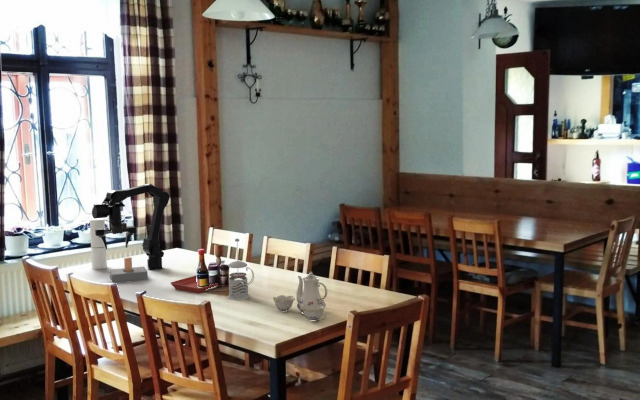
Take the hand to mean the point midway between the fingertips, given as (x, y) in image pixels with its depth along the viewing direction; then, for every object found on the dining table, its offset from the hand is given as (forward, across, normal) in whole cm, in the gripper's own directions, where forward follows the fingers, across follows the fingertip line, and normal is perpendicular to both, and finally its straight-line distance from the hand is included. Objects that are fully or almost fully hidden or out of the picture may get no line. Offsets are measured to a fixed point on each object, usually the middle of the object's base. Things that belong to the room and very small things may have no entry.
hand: (116, 248), depth 325 cm
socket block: (+13, +4, -11) cm, 17 cm away
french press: (+13, +42, -66) cm, 79 cm away
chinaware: (+13, +57, -101) cm, 117 cm away
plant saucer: (+14, +30, -42) cm, 53 cm away
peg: (+13, +4, -11) cm, 18 cm away
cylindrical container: (+13, -6, +21) cm, 26 cm away
